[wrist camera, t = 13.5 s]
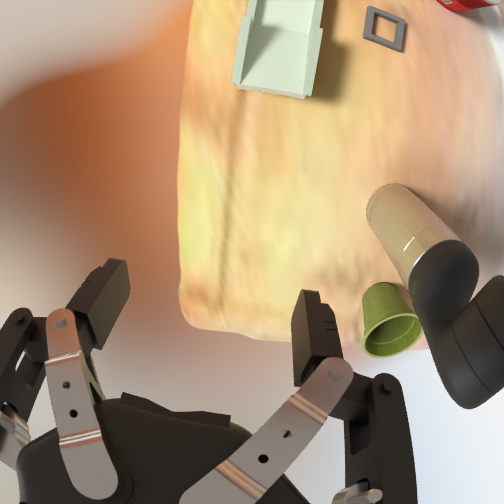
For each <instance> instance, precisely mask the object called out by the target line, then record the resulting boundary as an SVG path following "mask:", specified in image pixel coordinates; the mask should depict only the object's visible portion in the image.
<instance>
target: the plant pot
mask: <svg viewBox="0 0 504 504" xmlns="http://www.w3.org/2000/svg"><path fill="white" fill-rule="evenodd" d="M362 302H363V313H364V325H365V331H364V339H363V342H362V348H363V350H364V352H365V353H366V354H367V355H369V356H372V357H375V358H385V357H390V356H394V355H397V354H399V353H401V352H403V351H405V350H407V349H408V348H410V347H411V346H412V345H414V344H415V343H416V342H417V340H418V339H419V338H420V337H421V335H422V333H423V328H422V326H421V323H420V321H419V319H418V316H417V315H416V314H415V313H414V312H413V311H412V310H411V309H410V308H409V307H408V305H407V304H406V303H405V301H404V300H403V299H402V297H401V296H400V295H399V293H398V292H397V291H396V289H395V288H394V287H393V286H392V285H390V284H388V283H378V284H375V285H373V286H371V287H370V288H369V289H368V290H367V292H366V293H365V294H364V295H363V299H362Z"/></svg>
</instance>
